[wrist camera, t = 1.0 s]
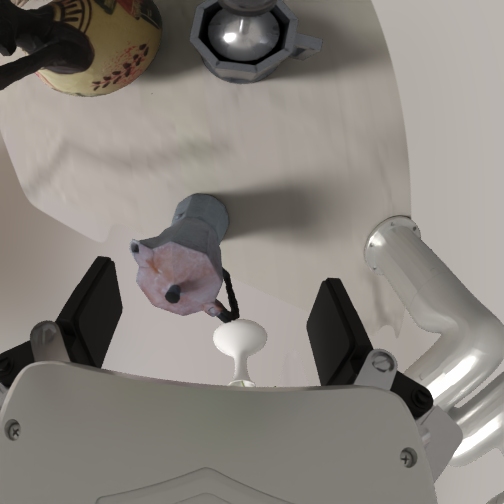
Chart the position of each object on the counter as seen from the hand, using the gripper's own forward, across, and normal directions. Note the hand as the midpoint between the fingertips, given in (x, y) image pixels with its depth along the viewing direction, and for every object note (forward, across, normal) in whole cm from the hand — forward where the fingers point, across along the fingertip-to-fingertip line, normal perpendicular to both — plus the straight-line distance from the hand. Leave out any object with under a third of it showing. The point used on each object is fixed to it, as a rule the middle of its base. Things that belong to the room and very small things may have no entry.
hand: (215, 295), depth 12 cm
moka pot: (+31, +3, +11) cm, 32 cm away
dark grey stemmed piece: (+21, +1, -16) cm, 26 cm away
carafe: (+30, -1, -16) cm, 34 cm away
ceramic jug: (+31, +18, -16) cm, 38 cm away
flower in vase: (+31, -7, +36) cm, 48 cm away
